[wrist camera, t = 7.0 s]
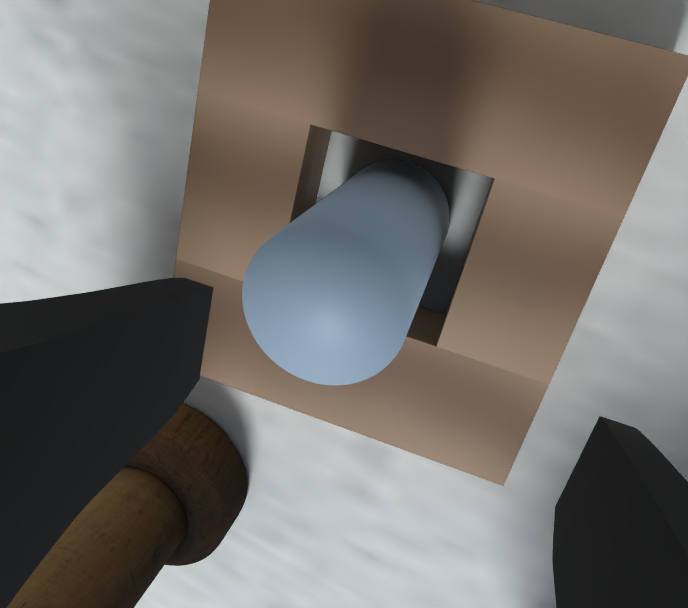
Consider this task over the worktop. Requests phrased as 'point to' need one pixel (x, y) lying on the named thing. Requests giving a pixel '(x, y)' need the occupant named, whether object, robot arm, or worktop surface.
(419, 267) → the peg
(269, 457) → the worktop surface
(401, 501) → the worktop surface
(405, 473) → the worktop surface
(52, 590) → the mortar and pestle
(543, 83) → the socket block
